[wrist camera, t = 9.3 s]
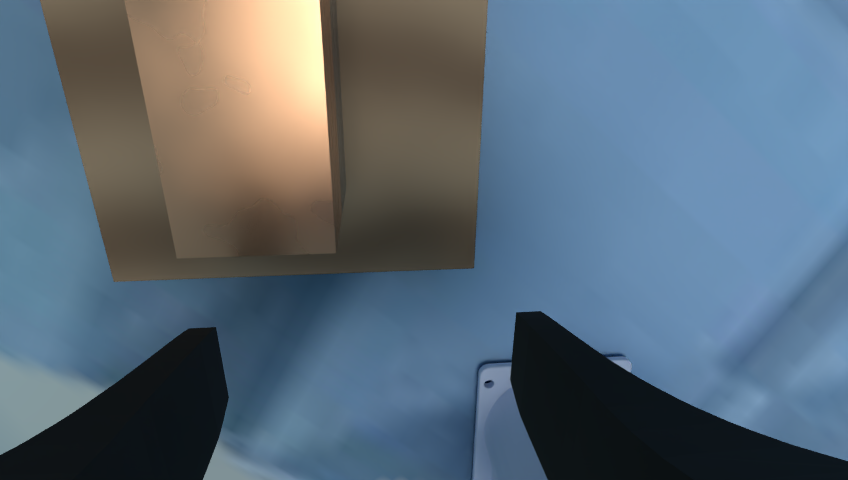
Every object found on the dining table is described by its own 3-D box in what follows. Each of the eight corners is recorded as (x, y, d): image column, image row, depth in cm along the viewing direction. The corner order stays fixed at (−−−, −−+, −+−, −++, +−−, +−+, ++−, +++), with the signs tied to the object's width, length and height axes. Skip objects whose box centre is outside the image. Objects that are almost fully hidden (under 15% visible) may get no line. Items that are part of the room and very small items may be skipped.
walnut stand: (463, 244, 23) (474, 268, 20) (141, 254, 21) (114, 281, 19) (480, -162, 17) (497, -193, 15) (39, -183, 16) (-18, -220, 13)
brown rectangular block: (346, 187, 18) (336, 253, 13) (235, 189, 18) (176, 258, 13) (332, -61, 15) (311, -113, 10) (199, -65, 15) (99, -121, 10)
